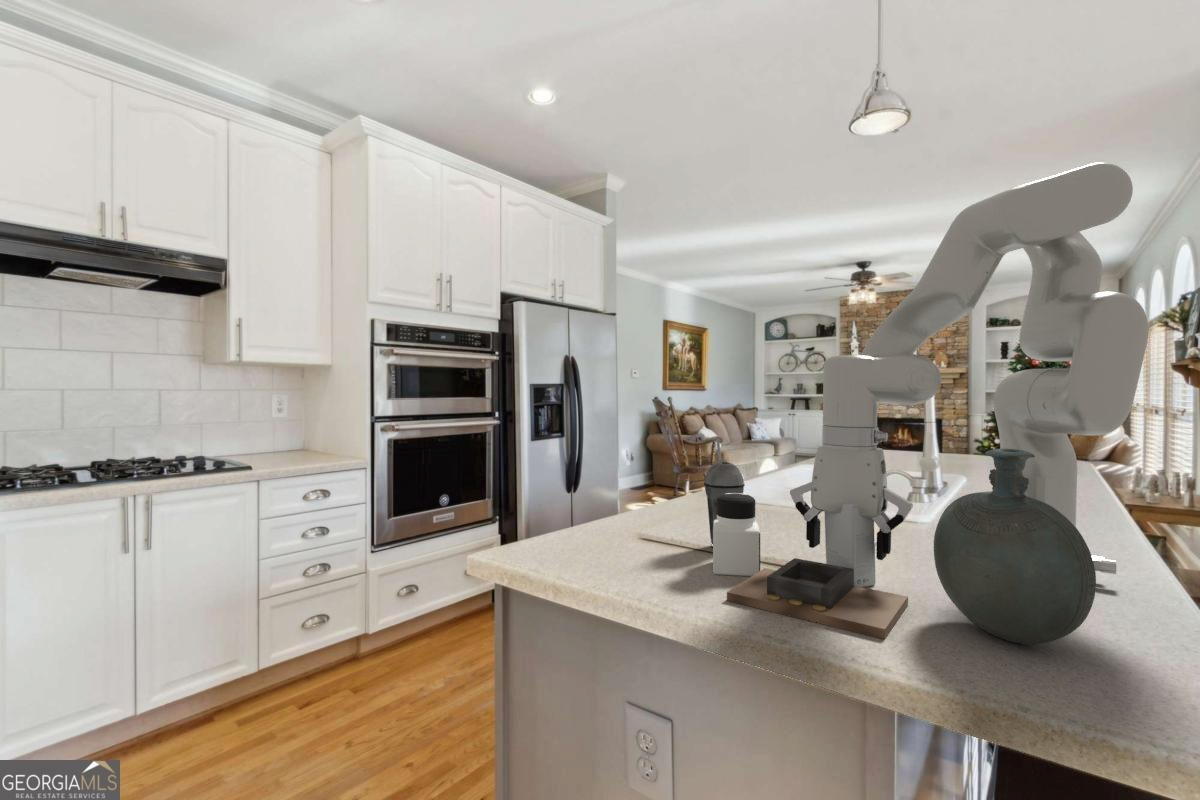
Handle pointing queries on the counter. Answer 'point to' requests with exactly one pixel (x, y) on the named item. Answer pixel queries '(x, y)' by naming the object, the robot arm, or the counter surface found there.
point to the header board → (821, 597)
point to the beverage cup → (721, 485)
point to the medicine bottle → (736, 536)
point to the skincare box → (851, 543)
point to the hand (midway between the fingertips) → (846, 551)
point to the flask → (1014, 559)
